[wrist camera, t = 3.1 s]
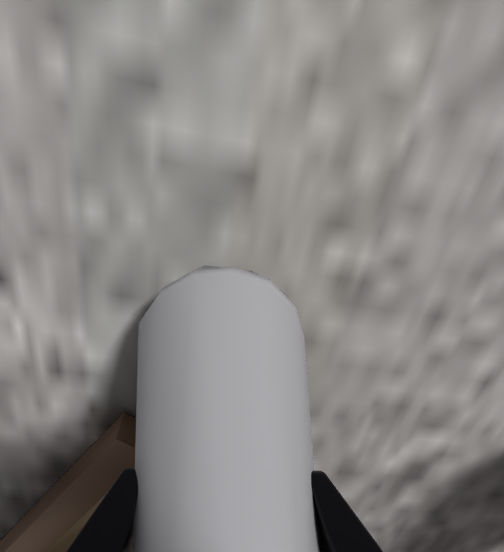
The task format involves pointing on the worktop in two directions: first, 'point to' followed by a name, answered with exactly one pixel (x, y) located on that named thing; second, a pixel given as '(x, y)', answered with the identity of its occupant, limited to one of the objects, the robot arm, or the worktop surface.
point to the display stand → (75, 493)
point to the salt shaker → (223, 419)
